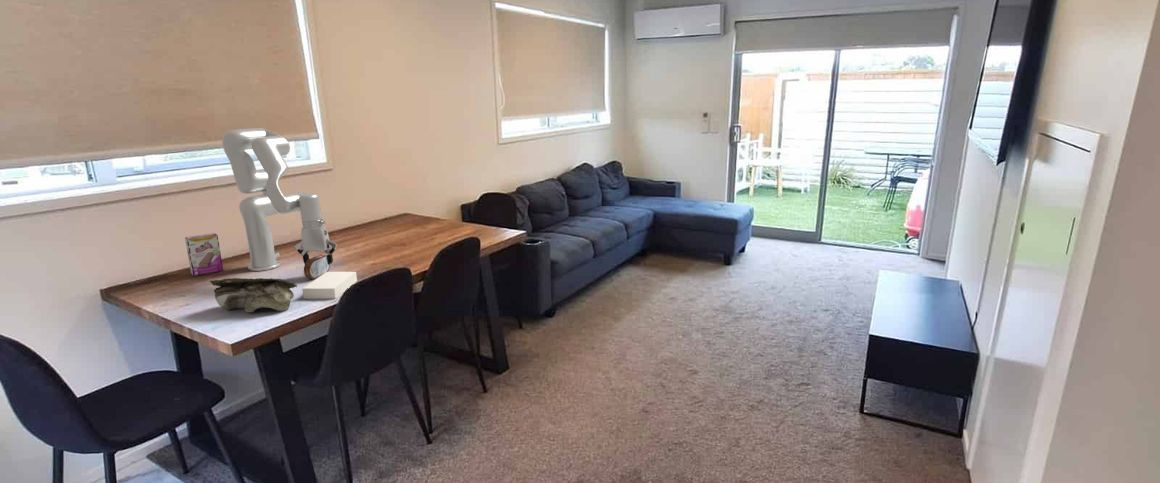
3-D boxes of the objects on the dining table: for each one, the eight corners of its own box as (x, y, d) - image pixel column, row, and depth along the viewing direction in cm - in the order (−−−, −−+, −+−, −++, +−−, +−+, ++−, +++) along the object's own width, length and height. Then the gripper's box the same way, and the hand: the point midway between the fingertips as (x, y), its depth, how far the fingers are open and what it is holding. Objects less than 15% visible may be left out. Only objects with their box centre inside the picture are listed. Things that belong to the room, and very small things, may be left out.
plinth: (327, 281, 225) (326, 271, 224) (357, 281, 225) (356, 271, 224) (303, 298, 206) (302, 288, 205) (335, 298, 206) (334, 288, 204)
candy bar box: (193, 276, 231) (186, 239, 227) (191, 274, 234) (183, 236, 230) (224, 271, 238) (217, 234, 234) (221, 268, 242) (214, 232, 238)
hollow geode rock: (217, 321, 197) (191, 304, 184) (228, 289, 203) (204, 270, 191) (295, 319, 196) (273, 301, 183) (303, 287, 203) (284, 268, 190)
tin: (326, 270, 239) (323, 251, 237) (332, 270, 239) (330, 251, 237) (304, 281, 225) (301, 261, 223) (311, 281, 224) (308, 262, 222)
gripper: (337, 221, 229) (343, 260, 234) (296, 222, 230) (302, 261, 234) (329, 225, 222) (335, 266, 226) (287, 226, 223) (293, 267, 227)
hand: (318, 263), depth 230 cm, fingers open, 9 cm apart
